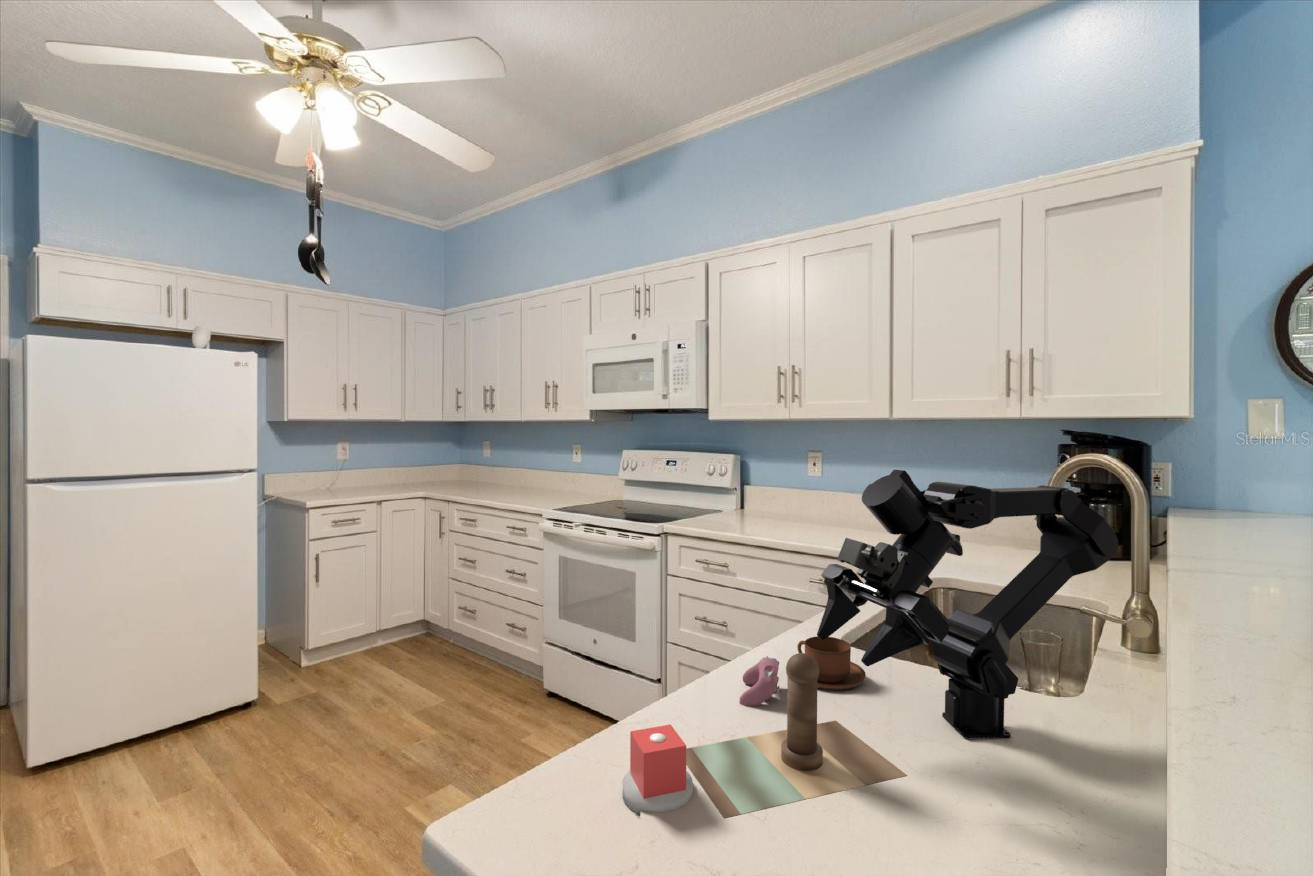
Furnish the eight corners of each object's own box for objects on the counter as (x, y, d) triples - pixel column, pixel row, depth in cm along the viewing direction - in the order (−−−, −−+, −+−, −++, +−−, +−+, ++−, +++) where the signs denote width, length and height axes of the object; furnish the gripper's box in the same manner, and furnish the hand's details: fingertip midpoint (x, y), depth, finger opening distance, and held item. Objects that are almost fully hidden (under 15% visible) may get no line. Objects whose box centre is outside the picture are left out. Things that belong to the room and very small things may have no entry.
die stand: (677, 769, 74) (677, 715, 74) (703, 808, 66) (704, 749, 66) (614, 781, 71) (614, 726, 71) (634, 824, 64) (634, 762, 64)
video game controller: (764, 722, 89) (786, 682, 88) (736, 706, 90) (758, 666, 89) (765, 693, 99) (785, 656, 98) (740, 678, 99) (760, 642, 99)
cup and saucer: (779, 685, 98) (779, 647, 98) (804, 661, 108) (804, 627, 108) (853, 704, 92) (854, 664, 92) (873, 676, 102) (874, 640, 102)
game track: (835, 724, 85) (835, 720, 85) (907, 780, 72) (907, 775, 72) (676, 755, 77) (676, 750, 77) (724, 823, 64) (724, 818, 64)
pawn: (816, 748, 78) (816, 646, 77) (827, 770, 73) (828, 662, 72) (777, 748, 78) (778, 646, 77) (786, 771, 73) (787, 662, 72)
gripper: (833, 507, 87) (764, 590, 84) (931, 528, 69) (849, 635, 66) (877, 558, 90) (813, 640, 86) (983, 591, 72) (906, 696, 69)
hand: (840, 650), depth 77 cm, fingers open, 9 cm apart
